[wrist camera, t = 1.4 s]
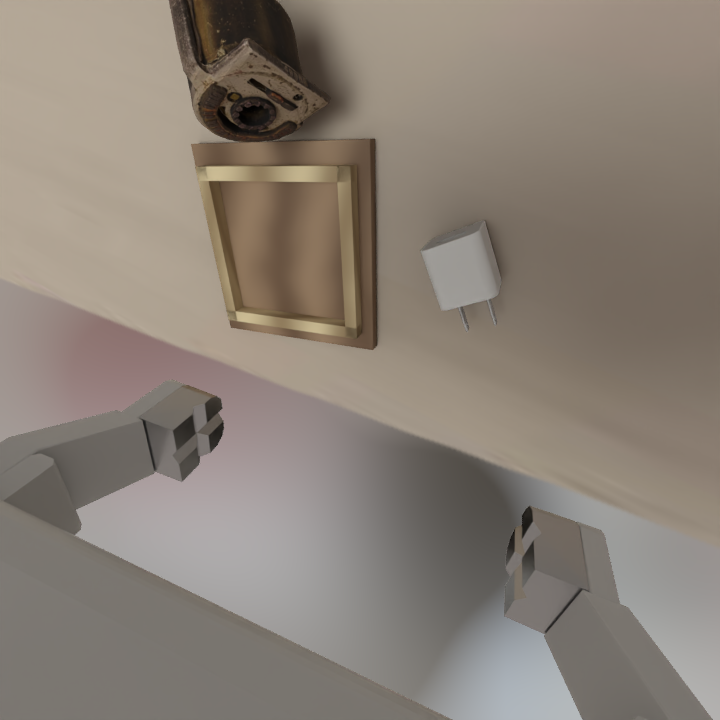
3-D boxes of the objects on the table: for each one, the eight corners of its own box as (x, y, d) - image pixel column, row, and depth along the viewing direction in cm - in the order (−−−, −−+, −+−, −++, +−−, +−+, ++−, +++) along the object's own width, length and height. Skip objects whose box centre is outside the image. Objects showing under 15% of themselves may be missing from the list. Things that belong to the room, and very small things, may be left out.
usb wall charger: (485, 218, 27) (479, 231, 24) (511, 309, 29) (508, 332, 26) (431, 238, 29) (417, 253, 26) (459, 322, 31) (450, 345, 28)
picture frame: (374, 139, 27) (363, 139, 25) (376, 344, 35) (368, 356, 33) (199, 143, 32) (179, 144, 30) (237, 323, 40) (223, 332, 38)
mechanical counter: (297, 167, 30) (210, 183, 22) (181, 6, 27) (33, -43, 19) (366, 92, 26) (290, 77, 18) (237, -107, 23) (79, -229, 15)
